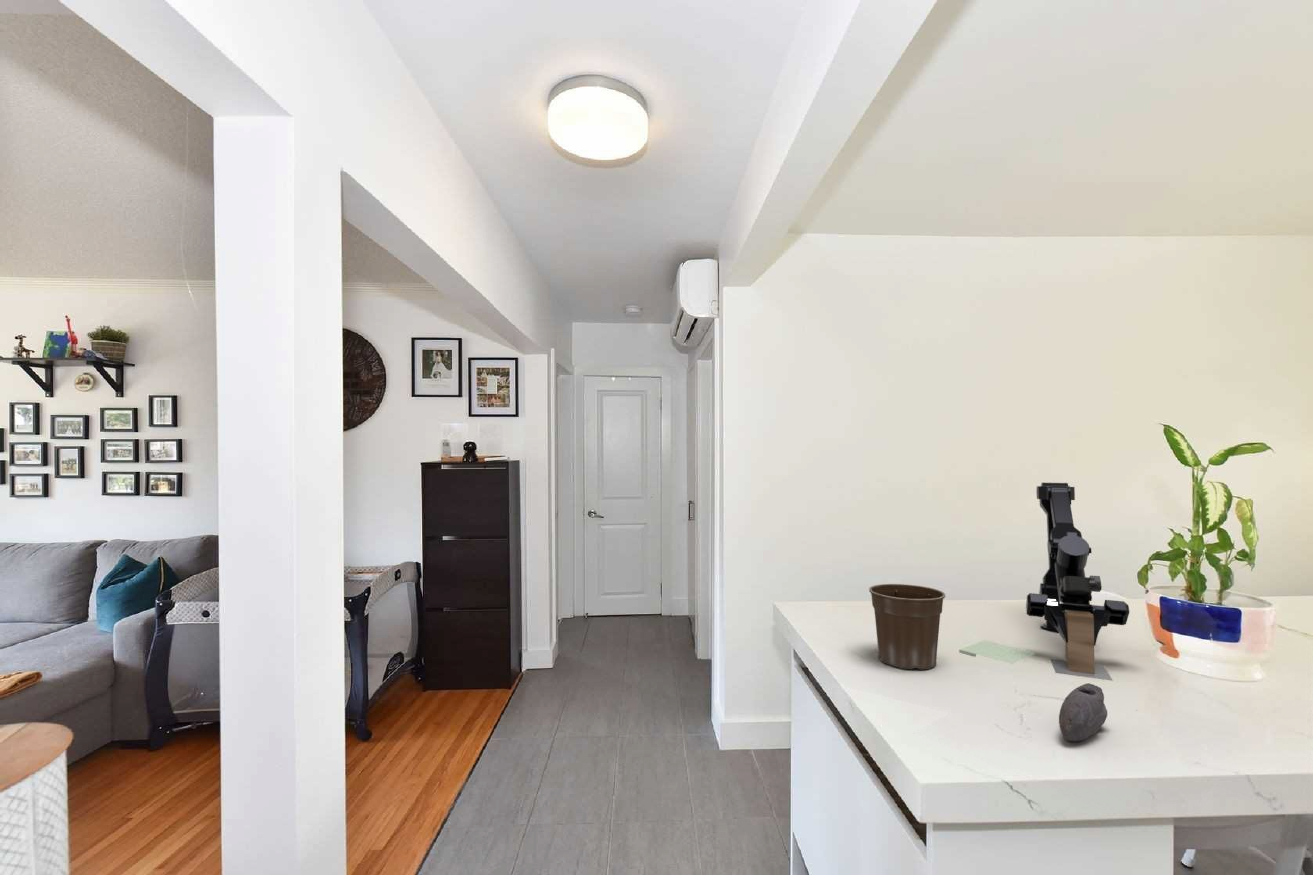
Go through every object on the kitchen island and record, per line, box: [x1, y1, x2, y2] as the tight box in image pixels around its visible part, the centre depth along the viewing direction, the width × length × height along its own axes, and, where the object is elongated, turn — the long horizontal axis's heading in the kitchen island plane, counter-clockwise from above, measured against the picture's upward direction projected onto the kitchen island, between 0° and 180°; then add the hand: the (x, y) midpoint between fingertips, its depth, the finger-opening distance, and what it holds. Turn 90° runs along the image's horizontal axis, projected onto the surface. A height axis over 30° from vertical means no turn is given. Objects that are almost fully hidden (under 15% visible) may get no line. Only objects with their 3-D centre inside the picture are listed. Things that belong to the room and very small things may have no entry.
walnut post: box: [1064, 610, 1096, 674], centre depth 133 cm, size 5×5×12 cm
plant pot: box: [868, 583, 946, 671], centre depth 140 cm, size 16×16×16 cm
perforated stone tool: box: [1058, 682, 1108, 742], centre depth 105 cm, size 15×5×7 cm, turn 128°
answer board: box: [959, 639, 1037, 665], centre depth 145 cm, size 12×12×1 cm
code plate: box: [1049, 658, 1114, 681], centre depth 133 cm, size 10×10×1 cm
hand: (1080, 643), depth 132 cm, fingers closed on walnut post, 5 cm apart
